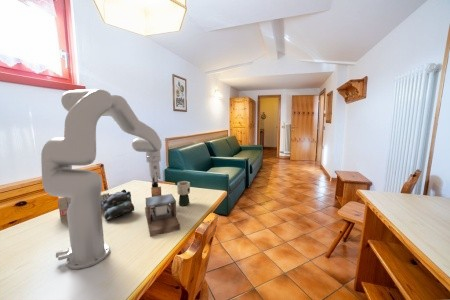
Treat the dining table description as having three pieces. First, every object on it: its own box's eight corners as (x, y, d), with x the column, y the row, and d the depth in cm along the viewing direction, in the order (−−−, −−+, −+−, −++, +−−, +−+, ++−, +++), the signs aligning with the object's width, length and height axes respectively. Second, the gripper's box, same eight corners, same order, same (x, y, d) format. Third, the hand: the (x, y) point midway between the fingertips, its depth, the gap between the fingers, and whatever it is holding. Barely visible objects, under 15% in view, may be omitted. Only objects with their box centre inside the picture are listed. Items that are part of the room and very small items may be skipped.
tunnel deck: (150, 236, 82) (148, 212, 80) (145, 211, 105) (144, 192, 104) (180, 229, 87) (179, 206, 86) (169, 207, 111) (168, 188, 109)
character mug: (190, 207, 110) (189, 185, 108) (177, 208, 109) (176, 186, 107) (190, 200, 121) (189, 179, 119) (178, 201, 120) (177, 180, 118)
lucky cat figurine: (98, 223, 93) (94, 194, 96) (112, 221, 105) (108, 195, 108) (129, 212, 94) (124, 185, 98) (140, 211, 106) (134, 187, 109)
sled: (152, 221, 89) (151, 201, 88) (148, 204, 107) (147, 188, 106) (171, 217, 93) (171, 198, 92) (164, 201, 111) (164, 185, 110)
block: (156, 219, 92) (155, 207, 91) (155, 214, 96) (154, 203, 95) (167, 217, 94) (166, 205, 93) (165, 212, 98) (165, 201, 97)
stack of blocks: (107, 205, 113) (106, 185, 111) (110, 209, 109) (109, 187, 107) (59, 218, 99) (57, 194, 97) (60, 222, 94) (57, 198, 92)
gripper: (162, 160, 105) (164, 193, 108) (158, 156, 118) (160, 185, 121) (147, 161, 102) (149, 195, 104) (145, 157, 115) (147, 187, 118)
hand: (155, 190), depth 113 cm, fingers closed
